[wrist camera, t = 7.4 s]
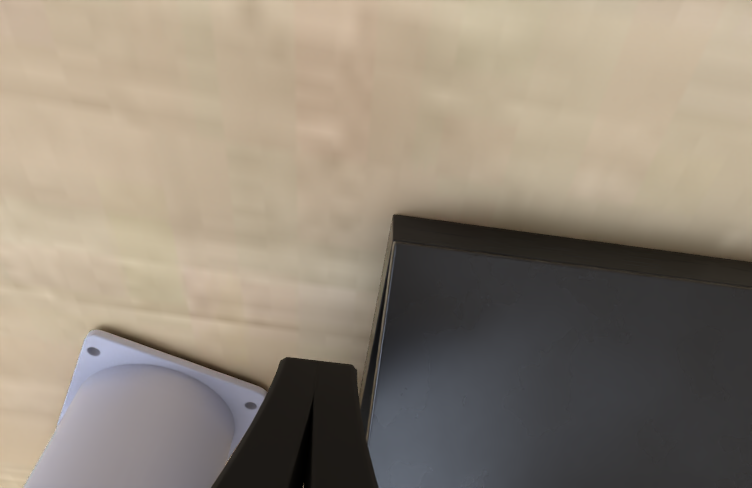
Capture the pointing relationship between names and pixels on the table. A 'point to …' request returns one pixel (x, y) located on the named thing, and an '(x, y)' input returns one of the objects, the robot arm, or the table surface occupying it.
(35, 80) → the table surface
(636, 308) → the laptop screen
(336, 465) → the robot arm
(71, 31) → the table surface
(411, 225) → the laptop
